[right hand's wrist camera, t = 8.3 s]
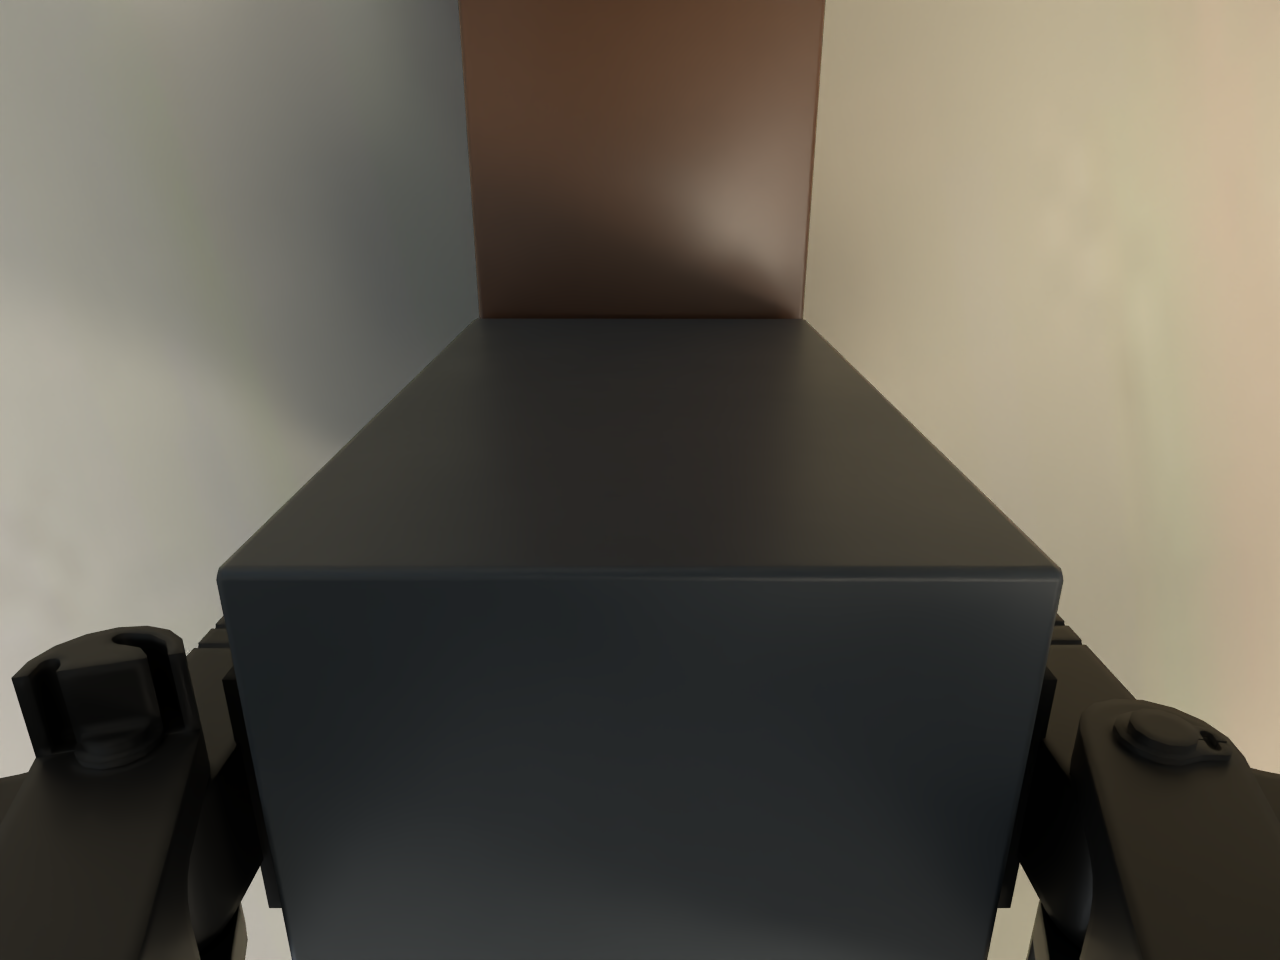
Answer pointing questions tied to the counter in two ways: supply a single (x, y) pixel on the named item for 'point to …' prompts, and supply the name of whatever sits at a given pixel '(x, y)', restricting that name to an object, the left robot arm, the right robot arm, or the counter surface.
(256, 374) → the counter surface
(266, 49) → the counter surface
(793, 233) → the walnut beam
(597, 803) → the cap block
